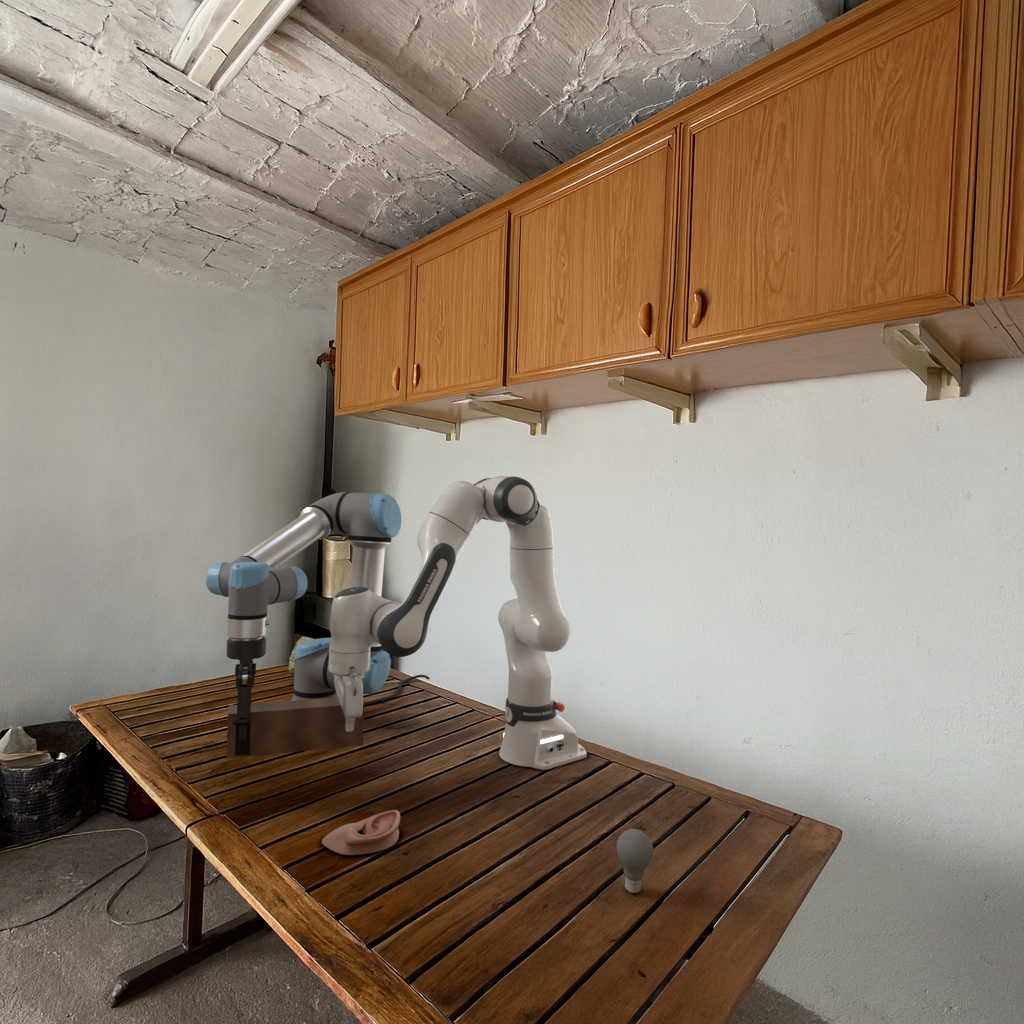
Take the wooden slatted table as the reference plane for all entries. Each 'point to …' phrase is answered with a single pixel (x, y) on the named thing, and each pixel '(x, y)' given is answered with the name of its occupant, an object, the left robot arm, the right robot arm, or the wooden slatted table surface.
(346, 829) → the anatomical model
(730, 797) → the wooden slatted table surface
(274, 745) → the bar
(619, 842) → the light bulb
